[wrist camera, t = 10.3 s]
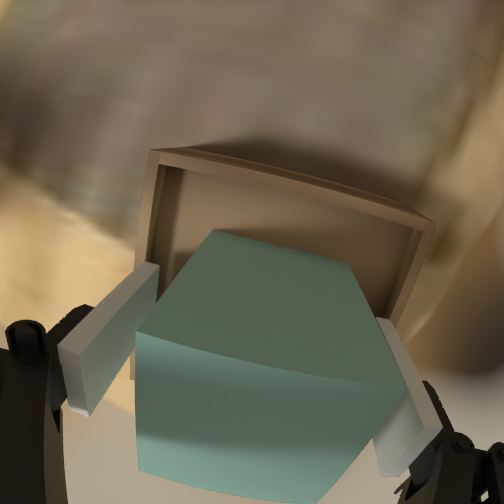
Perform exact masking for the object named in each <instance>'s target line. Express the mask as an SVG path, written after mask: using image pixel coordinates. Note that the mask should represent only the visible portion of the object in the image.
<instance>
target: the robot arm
mask: <svg viewBox="0 0 504 504" xmlns="http://www.w3.org/2000/svg"><path fill="white" fill-rule="evenodd" d="M159 269H160V265H157V264H153V263H149V262H146V261H143V262H142V263H141V264H140V265H139V266H138V267H137V268H136V269H135V270H134V271H133V272H132V273H130V274H129V275H128V276H127V277H126V278H125V279H124V280H123V281H122V282H121V283H120V284H119V285H118V286H117V287H116V288H115V289H113V290H112V291H111V292H110V293H109V294H108V295H107V296H106V297H105V298H104V299H103V300H102V301H101V302H100V303H99V304H98V305H97V306H96V307H95V308H94V307H91V306H89V305H86V304H84V305H81V306H79V307H76V308H74V309H72V310H71V311H70V312H69V313H68V314H67V315H66V316H65V318H63V319H61V320H60V321H59V324H58V323H57V324H56V325H55V326H54V327H53V328H52V329H51V330H50V331H49V332H48V333H46V330H45V328H44V327H43V325H42V324H40V323H38V322H37V321H33V320H20V321H16V322H14V323H12V324H11V325H9V326H8V327H7V329H6V330H5V334H6V338H7V343H8V347H9V350H7V349H2V348H0V504H68V499H67V491H66V481H65V470H64V455H63V423H62V422H63V420H62V419H63V418H62V416H63V414H62V409H61V405H62V404H63V402H64V401H65V400H66V398H67V400H68V404H69V408H70V409H71V410H73V411H75V412H77V413H80V414H82V415H84V416H86V417H90V416H91V414H92V412H93V411H94V409H95V408H96V406H97V405H98V403H99V401H100V400H101V398H102V397H103V395H104V394H105V392H106V391H107V389H108V387H109V386H110V384H111V383H112V381H113V380H114V378H115V377H116V375H117V374H118V372H119V371H120V369H121V367H122V366H123V364H124V363H125V361H126V360H127V358H128V357H129V355H130V354H131V352H132V351H133V349H134V348H135V341H136V330H137V329H138V327H139V326H140V325H141V323H142V322H143V320H144V319H145V318H146V316H147V315H148V314H149V312H150V311H151V310H152V308H153V307H154V305H155V304H156V297H157V287H158V278H159ZM375 319H376V321H377V324H378V326H379V328H380V330H381V332H382V334H383V337H384V339H385V341H386V343H387V345H388V348H389V350H390V352H391V354H392V357H393V359H394V361H395V363H396V366H397V368H398V370H399V373H400V375H401V377H402V380H403V382H404V385H405V387H406V388H405V390H404V392H403V393H402V395H401V396H400V398H399V399H398V401H397V403H396V404H395V406H394V407H393V409H392V410H391V412H390V413H389V414H388V416H387V417H386V419H385V420H384V422H383V423H382V425H381V426H380V427H379V429H378V430H377V432H376V433H375V434H374V436H373V437H372V438H373V443H374V447H375V451H376V456H377V461H378V466H379V470H380V475H381V477H400V475H401V474H402V473H403V472H404V471H405V470H406V469H407V468H408V467H409V470H410V474H411V476H410V477H409V478H408V479H407V480H405V481H404V482H403V483H402V484H401V485H400V486H399V487H398V488H397V489H396V491H395V492H394V494H397V493H398V492H399V491H400V490H401V489H403V490H402V492H401V495H400V498H399V501H398V504H504V443H501V442H496V443H495V444H493V445H492V446H491V447H490V448H489V449H488V451H484V450H480V449H475V447H474V444H473V442H472V441H471V440H470V439H469V438H468V437H467V436H466V435H464V434H462V433H458V432H454V429H453V427H452V425H451V422H450V420H449V418H448V416H447V414H446V412H445V410H444V408H442V404H441V401H440V400H439V397H438V395H437V393H436V392H435V389H434V388H433V387H432V386H431V385H430V384H429V383H428V382H427V381H422V380H421V378H420V376H419V374H418V372H417V370H416V368H415V366H414V364H413V362H412V360H411V358H410V356H409V354H408V352H407V350H406V348H405V346H404V344H403V343H402V341H401V339H400V337H399V335H398V333H397V331H396V329H395V327H394V326H393V324H392V322H391V320H389V319H384V318H379V317H376V318H375ZM486 491H488V496H489V497H488V498H487V499H486V500H485V501H483V502H482V501H481V496H482V495H483V494H484V493H485V492H486Z"/></svg>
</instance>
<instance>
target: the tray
mask: <svg viewBox="0 0 504 504" xmlns="http://www.w3.org/2000/svg"><path fill="white" fill-rule="evenodd" d="M435 226H436V222H434V221H432V220H431V219H429V218H427V217H425V216H424V215H422V214H420V213H418V212H417V211H415V210H413V209H411V208H410V207H408V206H406V205H404V204H402V203H400V202H399V201H396V200H393V199H390V198H387V197H384V196H380V195H377V194H374V193H371V192H368V191H364V190H361V189H358V188H354V187H351V186H348V185H344V184H341V183H337V182H334V181H330V180H327V179H323V178H319V177H316V176H312V175H308V174H304V173H300V172H297V171H293V170H289V169H285V168H281V167H277V166H272V165H268V164H264V163H260V162H255V161H251V160H247V159H242V158H237V157H233V156H228V155H223V154H218V153H214V152H208V151H203V150H198V149H193V148H187V147H178V148H163V149H150V150H149V155H148V161H147V167H146V173H145V179H144V186H143V193H142V200H141V208H140V216H139V224H138V233H137V243H136V253H135V264H134V270H135V269H136V268H137V267H138V266H139V265H140V264H141V263H142V262H143V261H146V262H149V263H153V264H157V265H160V269H159V278H158V287H157V297H156V303H157V301H158V300H159V299H160V297H161V296H162V295H163V293H164V292H165V291H166V289H167V288H168V287H169V285H170V284H171V283H172V281H173V280H174V279H175V277H176V276H177V275H178V273H179V272H180V271H181V269H182V268H183V267H184V266H185V264H186V263H187V262H188V260H189V259H190V258H191V256H192V255H193V254H194V253H195V251H196V250H197V249H198V247H199V246H200V245H201V243H202V242H203V241H204V240H205V238H206V237H207V236H208V235H209V233H210V232H211V231H212V230H217V231H221V232H225V233H229V234H233V235H237V236H242V237H246V238H250V239H254V240H258V241H262V242H266V243H270V244H275V245H279V246H283V247H287V248H291V249H295V250H299V251H303V252H307V253H311V254H315V255H319V256H323V257H327V258H331V259H335V260H339V261H343V262H347V263H348V264H349V266H350V268H351V270H352V272H353V274H354V276H355V278H356V280H357V282H358V284H359V286H360V288H361V290H362V292H363V294H364V296H365V298H366V300H367V303H368V305H369V307H370V309H371V311H372V313H373V315H374V317H375V318H376V317H379V318H384V319H389V320H391V322H392V324H393V326H394V327H396V325H397V322H398V320H399V318H400V316H401V314H402V311H403V309H404V307H405V305H406V302H407V300H408V298H409V295H410V293H411V291H412V288H413V286H414V283H415V281H416V278H417V276H418V273H419V271H420V268H421V266H422V263H423V260H424V258H425V255H426V252H427V250H428V247H429V244H430V241H431V238H432V235H433V232H434V229H435ZM130 379H132V380H135V348H134V349H133V351H132V352H131V354H130Z"/></svg>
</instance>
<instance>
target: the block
mask: <svg viewBox="0 0 504 504" xmlns="http://www.w3.org/2000/svg"><path fill="white" fill-rule="evenodd" d="M405 388H406V387H405V385H404V382H403V380H402V377H401V375H400V373H399V370H398V368H397V366H396V363H395V361H394V359H393V357H392V354H391V352H390V350H389V348H388V345H387V343H386V341H385V339H384V337H383V334H382V332H381V330H380V328H379V326H378V324H377V321H376V319H375V317H374V315H373V313H372V311H371V309H370V307H369V305H368V303H367V300H366V298H365V296H364V294H363V292H362V290H361V288H360V286H359V284H358V282H357V280H356V278H355V276H354V274H353V272H352V270H351V268H350V266H349V264H348V263H347V262H343V261H339V260H335V259H331V258H327V257H323V256H319V255H315V254H311V253H307V252H303V251H299V250H295V249H291V248H287V247H283V246H279V245H275V244H270V243H266V242H262V241H258V240H254V239H250V238H246V237H242V236H237V235H233V234H229V233H225V232H221V231H217V230H212V231H211V232H210V233H209V235H208V236H207V237H206V238H205V240H204V241H203V242H202V243H201V245H200V246H199V247H198V249H197V250H196V251H195V253H194V254H193V255H192V256H191V258H190V259H189V260H188V262H187V263H186V264H185V266H184V267H183V268H182V269H181V271H180V272H179V273H178V275H177V276H176V277H175V279H174V280H173V281H172V283H171V284H170V285H169V287H168V288H167V289H166V291H165V292H164V293H163V295H162V296H161V297H160V299H159V300H158V301H157V303H156V304H155V305H154V307H153V308H152V310H151V311H150V312H149V314H148V315H147V316H146V318H145V319H144V320H143V322H142V323H141V325H140V326H139V327H138V329H137V330H136V341H135V416H136V439H137V456H138V469H139V471H143V472H146V473H148V474H151V475H154V476H158V477H161V478H164V479H168V480H171V481H175V482H178V483H182V484H185V485H189V486H193V487H197V488H201V489H205V490H210V491H215V492H219V493H224V494H229V495H234V496H240V497H246V498H252V499H259V500H266V501H274V502H283V503H293V504H317V502H318V501H319V500H320V499H321V498H322V497H323V496H324V495H325V494H326V493H327V492H328V491H329V490H330V488H331V487H332V486H333V485H334V484H335V483H336V482H337V481H338V479H339V478H340V477H341V476H342V475H343V474H344V472H345V471H346V470H347V469H348V467H349V466H350V465H351V464H352V463H353V461H354V460H355V459H356V458H357V456H358V455H359V454H360V452H361V451H362V450H363V449H364V447H365V446H366V445H367V444H368V442H369V441H370V440H371V438H372V437H373V436H374V434H375V433H376V432H377V430H378V429H379V427H380V426H381V425H382V423H383V422H384V420H385V419H386V417H387V416H388V414H389V413H390V412H391V410H392V409H393V407H394V406H395V404H396V403H397V401H398V399H399V398H400V396H401V395H402V393H403V392H404V390H405Z"/></svg>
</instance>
